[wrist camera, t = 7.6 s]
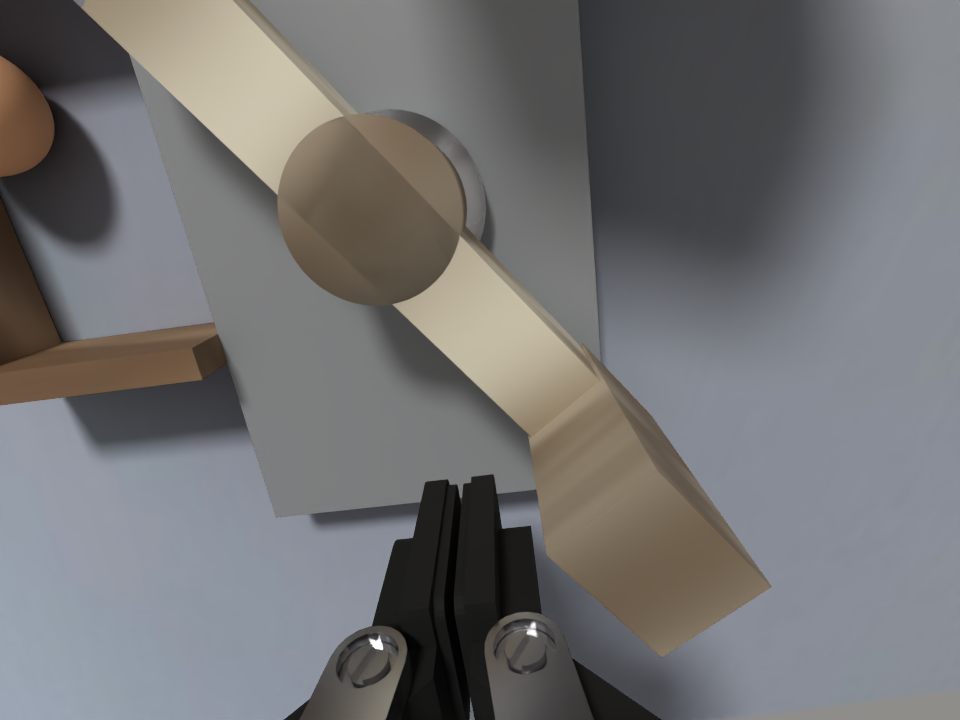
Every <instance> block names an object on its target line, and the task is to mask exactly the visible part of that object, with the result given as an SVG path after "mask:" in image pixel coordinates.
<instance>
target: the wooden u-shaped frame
mask: <svg viewBox="0 0 960 720" xmlns="http://www.w3.org/2000/svg"><path fill="white" fill-rule="evenodd" d="M225 364H227V361H226V358H225V355H224V352H223V348H222V345H221V342H220V339H219V336H218V333H217V329H216V326H215V323H207V324H199V325H191V326H184V327H176V328H169V329H161V330H154V331H146V332H139V333H131V334H123V335H116V336H108V337H101V338H93V339H86V340H78V341H71V342H63V343H62V342H61V340H60V338H59V335H58V333H57V331H56V328H55V326H54V323H53V321H52V319H51V316H50V314H49V312H48V309H47V307H46V305H45V302H44V300H43V298H42V295H41V293H40V290H39V288H38V286H37V283H36V281H35V279H34V276H33V274H32V272H31V269H30V267H29V264H28V262H27V260H26V257H25V255H24V253H23V250H22V248H21V246H20V243H19V241H18V239H17V236H16V234H15V231H14V229H13V227H12V224H11V222H10V220H9V217H8V215H7V213H6V210H5V208H4V205H3V203H2V201H1V198H0V405H7V404H15V403H23V402H31V401H38V400H46V399H54V398H62V397H70V396H78V395H86V394H94V393H102V392H110V391H118V390H126V389H134V388H142V387H150V386H158V385H166V384H174V383H182V382H190V381H198V380H203V379H205V378H206V377H207V376H209V375H210V374H212V373H213V372H215V371H216V370H218V369H219V368H221V367H222V366H224V365H225Z"/></svg>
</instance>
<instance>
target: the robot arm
mask: <svg viewBox="0 0 960 720" xmlns="http://www.w3.org/2000/svg"><path fill="white" fill-rule="evenodd" d="M470 696H471V702H472V707H473V712H474V717H475V720H661V719H659V718H658V717H657V716H655V715H654V714H652V713H651V712H649V711H648V710H646V709H645V708H643V707H642V706H641V705H639V704H638V703H636V702H635V701H633V700H632V699H630V698H629V697H628V696H626V695H625V694H623V693H622V692H620V691H619V690H617V689H616V688H614V687H613V686H612V685H610V684H609V683H607V682H606V681H604V680H603V679H601V678H600V677H598V676H597V675H596V674H594V673H593V672H591V671H590V670H588V669H587V668H585V667H584V666H583V665H581V664H580V663H578V662H577V661H575V660H574V659H572V657H571V654H570V651H569V648H568V645H567V642H566V639H565V637H564V635H563V633H562V631H561V629H560V627H559V626H558V625H557V624H556V623H555V622H554V621H552V620H551V619H550V618H548V617H546V616H544V615H542V613H541V605H540V597H539V589H538V581H537V572H536V564H535V556H534V548H533V540H532V532H531V526H525V527H516V528H506V529H502V525H501V519H500V512H499V505H498V498H497V491H496V484H495V478H494V474H490V475H481V476H472V477H471V483H464V484H463V492H462V504H461V501H460V495H459V489H458V485H457V484H454V485H450V483H449V480H448V479H445V480H436V481H427V482H425V485H424V490H423V494H422V499H421V504H420V508H419V513H418V518H417V522H416V527H415V532H414V536H413V538H409V539H400V540H396V541H395V543H394V545H393V549H392V552H391V556H390V560H389V564H388V568H387V571H386V575H385V579H384V583H383V586H382V590H381V594H380V598H379V602H378V605H377V609H376V613H375V617H374V620H373V624H372V626H371V627H367V628H364V629H362V630H359V631H357V632H355V633H354V634H352V635H350V636H349V637H347V638H346V639H345V640H344V641H343V642H342V643H341V644H340V645H339V646H338V647H337V648H336V650H335V651H334V653H333V654H332V656H331V657H330V659H329V661H328V663H327V665H326V667H325V669H324V671H323V673H322V675H321V678H320V680H319V682H318V684H317V686H316V688H315V690H314V692H313V694H312V696H311V698H310V699H309V700H308V701H307V702H306V703H304V704H303V705H302V706H301V707H299V708H298V709H297V710H296V711H294V712H293V713H292V714H291V715H289V716H288V717H287V718H286V719H284V720H469V718H470Z"/></svg>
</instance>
